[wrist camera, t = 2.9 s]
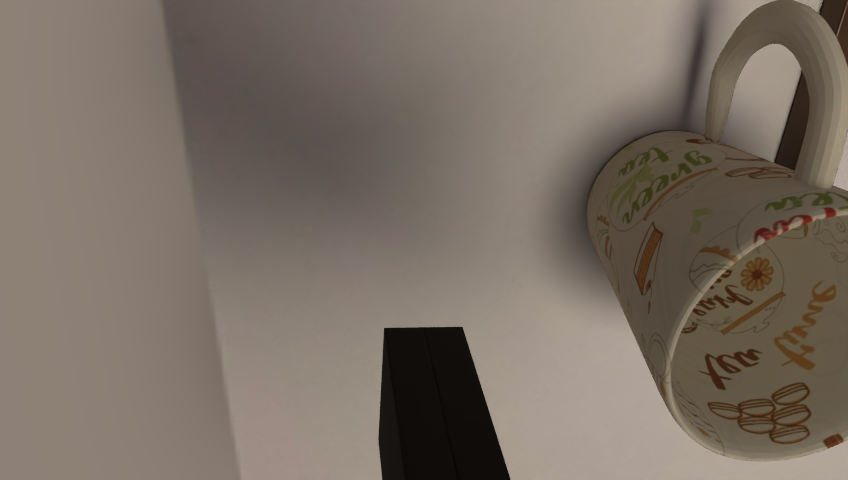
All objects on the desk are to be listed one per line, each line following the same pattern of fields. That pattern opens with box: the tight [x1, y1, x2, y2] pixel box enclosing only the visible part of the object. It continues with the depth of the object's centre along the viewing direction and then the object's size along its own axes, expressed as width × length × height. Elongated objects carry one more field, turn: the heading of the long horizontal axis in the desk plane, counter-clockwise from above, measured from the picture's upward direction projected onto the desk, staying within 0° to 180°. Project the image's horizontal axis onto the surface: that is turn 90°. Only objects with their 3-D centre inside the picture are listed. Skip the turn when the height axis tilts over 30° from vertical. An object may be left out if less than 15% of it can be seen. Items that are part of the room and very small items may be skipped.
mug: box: [587, 0, 848, 461], centre depth 23 cm, size 8×13×10 cm, turn 179°
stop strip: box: [776, 0, 848, 171], centre depth 28 cm, size 16×1×1 cm, turn 176°
